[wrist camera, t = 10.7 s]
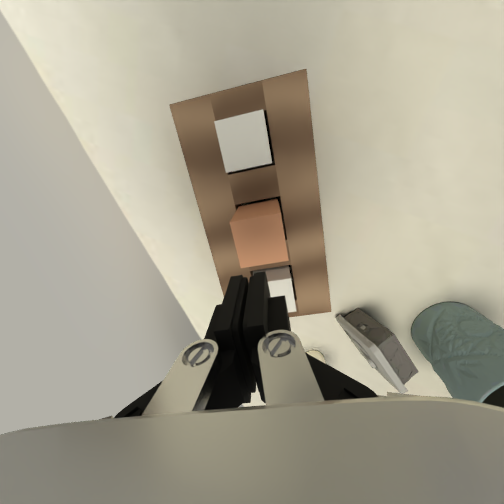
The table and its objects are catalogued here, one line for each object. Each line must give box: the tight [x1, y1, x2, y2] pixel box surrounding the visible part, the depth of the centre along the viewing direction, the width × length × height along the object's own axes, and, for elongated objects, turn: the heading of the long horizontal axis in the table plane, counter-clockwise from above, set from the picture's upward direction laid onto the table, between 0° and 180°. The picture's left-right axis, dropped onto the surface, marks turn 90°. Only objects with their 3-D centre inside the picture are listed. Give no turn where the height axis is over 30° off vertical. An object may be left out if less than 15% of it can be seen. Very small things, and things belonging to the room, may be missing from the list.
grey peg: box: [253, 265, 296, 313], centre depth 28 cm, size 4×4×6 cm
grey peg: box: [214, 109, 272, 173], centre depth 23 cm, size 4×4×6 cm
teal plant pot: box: [411, 302, 504, 408], centre depth 28 cm, size 10×10×12 cm
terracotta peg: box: [230, 199, 289, 268], centre depth 22 cm, size 4×4×6 cm
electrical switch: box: [336, 308, 418, 394], centre depth 31 cm, size 8×5×8 cm, turn 36°
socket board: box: [170, 69, 331, 317], centre depth 27 cm, size 24×12×5 cm, turn 12°
